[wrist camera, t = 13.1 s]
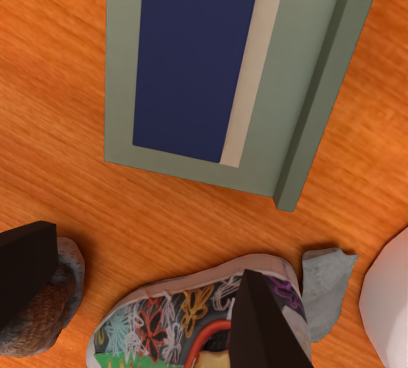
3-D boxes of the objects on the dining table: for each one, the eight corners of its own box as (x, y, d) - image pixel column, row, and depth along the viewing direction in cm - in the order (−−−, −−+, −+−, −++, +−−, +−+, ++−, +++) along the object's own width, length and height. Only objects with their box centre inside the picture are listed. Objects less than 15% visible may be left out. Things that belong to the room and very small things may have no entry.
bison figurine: (87, 320, 25) (1, 451, 16) (26, 297, 25) (-95, 416, 16) (105, 234, 21) (1, 347, 12) (31, 206, 21) (-134, 298, 12)
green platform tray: (124, 151, 18) (89, 168, 14) (136, -100, 12) (86, -197, 8) (279, 184, 17) (293, 213, 13) (362, -65, 12) (430, -151, 8)
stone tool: (280, 339, 21) (325, 326, 23) (292, 358, 20) (339, 342, 21) (297, 242, 18) (348, 233, 19) (312, 255, 16) (367, 245, 18)
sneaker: (83, 310, 25) (-4, 435, 16) (265, 224, 19) (296, 346, 10) (127, 355, 26) (72, 490, 17) (307, 290, 20) (366, 445, 11)
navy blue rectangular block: (225, 147, 14) (220, 169, 10) (159, 133, 14) (128, 149, 10) (268, -52, 10) (289, -142, 6) (180, -66, 10) (146, -162, 6)
